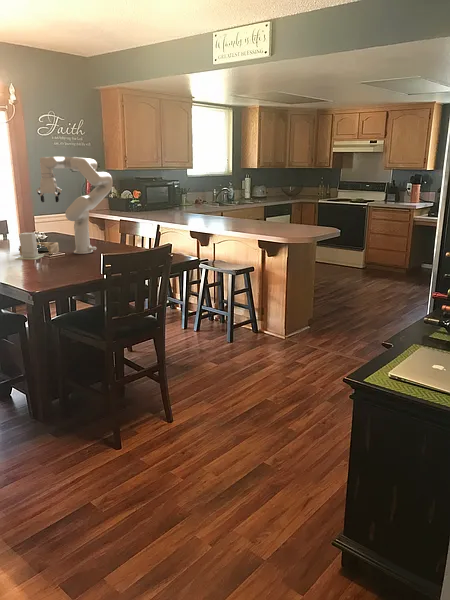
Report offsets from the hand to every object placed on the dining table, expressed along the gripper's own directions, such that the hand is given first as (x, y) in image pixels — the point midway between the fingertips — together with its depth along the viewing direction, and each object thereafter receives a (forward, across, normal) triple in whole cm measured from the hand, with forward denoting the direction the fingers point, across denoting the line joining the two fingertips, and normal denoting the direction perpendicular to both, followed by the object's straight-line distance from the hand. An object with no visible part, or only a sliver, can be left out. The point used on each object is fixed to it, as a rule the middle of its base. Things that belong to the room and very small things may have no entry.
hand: (50, 202), depth 336 cm
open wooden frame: (+33, +7, +10) cm, 35 cm away
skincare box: (+33, +7, +25) cm, 42 cm away
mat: (+33, +7, +25) cm, 42 cm away
